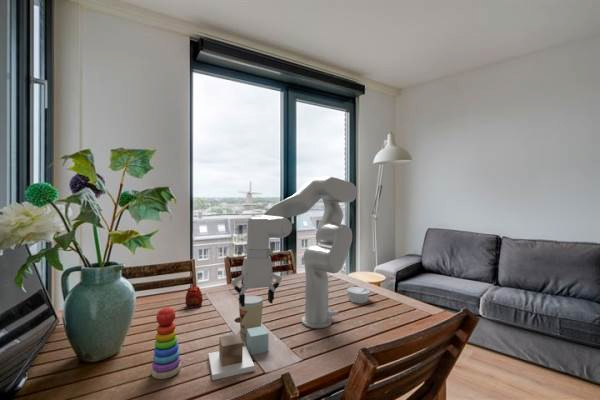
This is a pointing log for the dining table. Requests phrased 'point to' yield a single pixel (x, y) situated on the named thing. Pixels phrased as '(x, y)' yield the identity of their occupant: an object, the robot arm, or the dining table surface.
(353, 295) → the ramekin
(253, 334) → the teal block
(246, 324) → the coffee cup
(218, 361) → the base board
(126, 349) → the dining table surface
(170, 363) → the stacking toy
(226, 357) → the walnut block
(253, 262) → the robot arm
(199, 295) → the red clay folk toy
